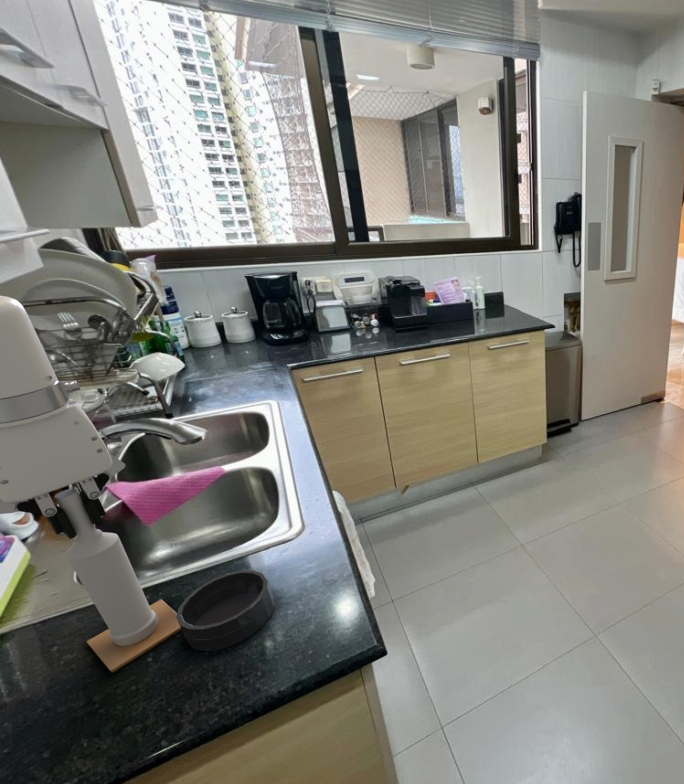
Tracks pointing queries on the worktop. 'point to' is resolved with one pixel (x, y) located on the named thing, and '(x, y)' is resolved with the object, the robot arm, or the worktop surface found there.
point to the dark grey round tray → (226, 610)
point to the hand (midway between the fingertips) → (83, 527)
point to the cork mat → (122, 655)
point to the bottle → (107, 575)
